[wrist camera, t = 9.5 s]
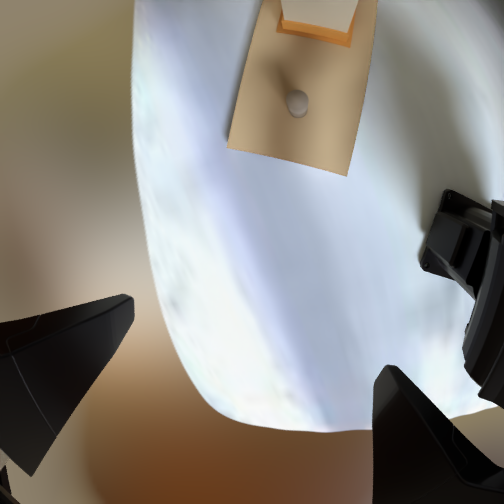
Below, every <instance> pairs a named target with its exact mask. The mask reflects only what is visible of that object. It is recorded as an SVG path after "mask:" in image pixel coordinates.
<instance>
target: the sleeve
mask: <svg viewBox="0 0 504 504" xmlns="http://www.w3.org/2000/svg"><path fill="white" fill-rule="evenodd" d="M357 3H358V0H281V4H282V10H283V17H282V21H281V22H282V27H283V29H287V30H294V31H299V32H305V33H310V34H315V35H319V36H324V37H328V38H332V39H336V40H340V41H344V42H347V40H348V38H349V34H350V28H351V21H352V18H353V15H354V12H355V9H356V6H357Z"/></svg>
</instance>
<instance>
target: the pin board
mask: <svg viewBox="0 0 504 504" xmlns="http://www.w3.org/2000/svg"><path fill="white" fill-rule="evenodd" d="M377 3H378V0H358V3H357V6H356V9H355V12H354V15H353V18H352V21H351V28H350V34H349V38H348V40H347V42H344V41H340V40H336V39H332V38H328V37H324V36H319V35H315V34H310V33H305V32H299V31H294V30H287V29H283V27H282V22H281V21H282V17H283V10H282V4H281V0H263V2H262V5H261V8H260V12H259V15H258V19H257V23H256V26H255V30H254V34H253V37H252V41H251V45H250V49H249V53H248V56H247V60H246V64H245V68H244V73H243V77H242V81H241V85H240V89H239V94H238V98H237V102H236V107H235V111H234V116H233V120H232V125H231V130H230V134H229V139H228V144H227V148H230V149H235V150H240V151H245V152H250V153H255V154H260V155H265V156H269V157H274V158H278V159H282V160H287V161H291V162H295V163H299V164H303V165H307V166H311V167H314V168H318V169H322V170H325V171H329V172H332V173H336V174H339V175H343V176H346V177H347V174H348V170H349V166H350V161H351V157H352V153H353V149H354V144H355V140H356V136H357V131H358V126H359V122H360V117H361V112H362V107H363V102H364V97H365V91H366V86H367V80H368V74H369V68H370V61H371V55H372V48H373V40H374V32H375V24H376V14H377Z"/></svg>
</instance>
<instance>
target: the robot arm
mask: <svg viewBox="0 0 504 504" xmlns="http://www.w3.org/2000/svg"><path fill="white" fill-rule="evenodd" d="M449 193H450V194H451V197H450V198H449V199H448V194H449ZM491 209H492V210H490V209H488V208H486V207H485V206H483V205H481V204H479V203H477V202H475V201H473V200H471V199H469V198H467V197H465V196H463V195H461V194H459V193H457V192H455V191H453V190H450V189H446V190H445V191H444V193H443V196H442V200H441V203H440V207H439V210H438V212H437V213H436V215H435V218H434V222H433V225H432V228H431V231H430V234H429V236H428V239H427V242H426V245H427V246H426V249H425V252H424V254H423V257H422V259H421V262H420V267H421V268H422V269H423V270H424V271H426V272H429V273H432V274H436V275H439V276H442V277H445V278H448V279H452V280H455V281H456V282H457V283H458V284H459V285H460V286H461V287H462V288H463V289H464V290H465V291H466V292H467V293H468V294H469V295H470V296H471V297H472V298H473V299H474V300H475V305H474V308H473V311H472V315H471V318H470V321H469V323H468V324H467V326H466V329H465V338H464V342H463V347H462V350H463V354H464V359H465V364H464V368H465V369H466V371H467V373H468V374H469V376H470V377H471V378H472V379H473V380H474V381H475V382H476V383H477V384H478V385H479V386H480V387H482V388H481V389H480V391H479V393H478V396H479V397H480V398H482V399H485V400H488V401H491V402H493V403H495V404H497V405H498V406H500V407H502V408H503V409H504V201H499V200H492V204H491ZM427 262H428V265H427V266H425V264H426V263H427ZM134 316H135V313H134V299H133V298H132V297H131V296H128V295H126V294H120V295H116V296H112V297H108V298H104V299H100V300H96V301H92V302H88V303H85V304H80V305H76V306H73V307H69V308H65V309H61V310H57V311H53V312H49V313H45V314H42V315H41V316H40V315H37V316H33V317H28V318H24V319H19V320H14V321H8V322H2V323H0V504H20V503H19V502H18V501H17V500H16V499H15V498H14V497H13V496H12V495H11V489H10V485H9V480H8V475H7V469H6V465H5V464H6V463H7V461H8V460H9V459H11V460H12V461H13V462H14V463H16V464H17V465H18V466H19V467H20V468H21V469H22V470H23V471H24V472H26V473H27V474H28V475H29V476H30V477H32V476H33V474H34V473H35V471H36V469H37V468H38V466H39V464H40V463H41V461H42V459H43V458H44V456H45V455H46V453H47V451H48V450H49V448H50V447H51V445H52V444H53V442H54V440H55V439H56V436H57V435H58V434H59V432H60V431H61V429H62V428H63V426H64V425H65V423H66V422H67V420H68V419H69V417H70V416H71V414H72V413H73V411H74V410H75V408H76V407H77V406H78V404H79V403H80V401H81V399H82V398H83V397H84V395H85V394H86V393H87V391H88V390H89V388H90V387H91V385H92V384H93V383H94V381H95V380H96V378H97V377H98V376H99V374H100V373H101V371H102V370H103V369H104V367H105V366H106V364H107V363H108V362H109V361H110V359H111V358H112V356H113V355H114V354H115V352H116V350H117V349H118V347H119V345H120V343H121V342H122V340H123V338H124V337H125V335H126V333H127V332H128V330H129V328H130V326H131V325H132V323H133V321H134ZM372 431H373V499H372V504H504V468H502V467H499V466H497V465H496V464H494V463H493V462H492V461H491V460H490V459H489V458H487V457H486V456H485V455H484V454H483V453H482V452H481V451H480V450H479V449H477V448H476V447H475V446H474V445H473V444H472V443H471V442H470V441H469V440H468V439H467V438H466V437H465V436H464V435H463V434H462V433H461V432H460V431H459V430H458V429H457V428H456V427H455V426H453V423H452V422H450V420H449V419H448V418H447V417H446V416H445V415H444V414H443V413H442V412H441V411H440V410H439V409H438V408H437V407H436V406H435V405H434V404H433V403H432V401H431V400H430V399H429V398H428V397H427V396H426V395H425V394H424V393H423V392H422V391H421V390H420V389H419V388H418V387H417V386H416V385H415V384H414V383H413V382H412V381H411V380H410V379H409V378H408V377H407V376H406V375H405V374H404V373H403V372H402V371H401V370H400V369H399V368H398V367H397V366H395V365H386V366H384V368H383V369H382V371H381V372H380V374H379V376H378V377H377V379H376V380H375V382H374V387H373V414H372Z"/></svg>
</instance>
